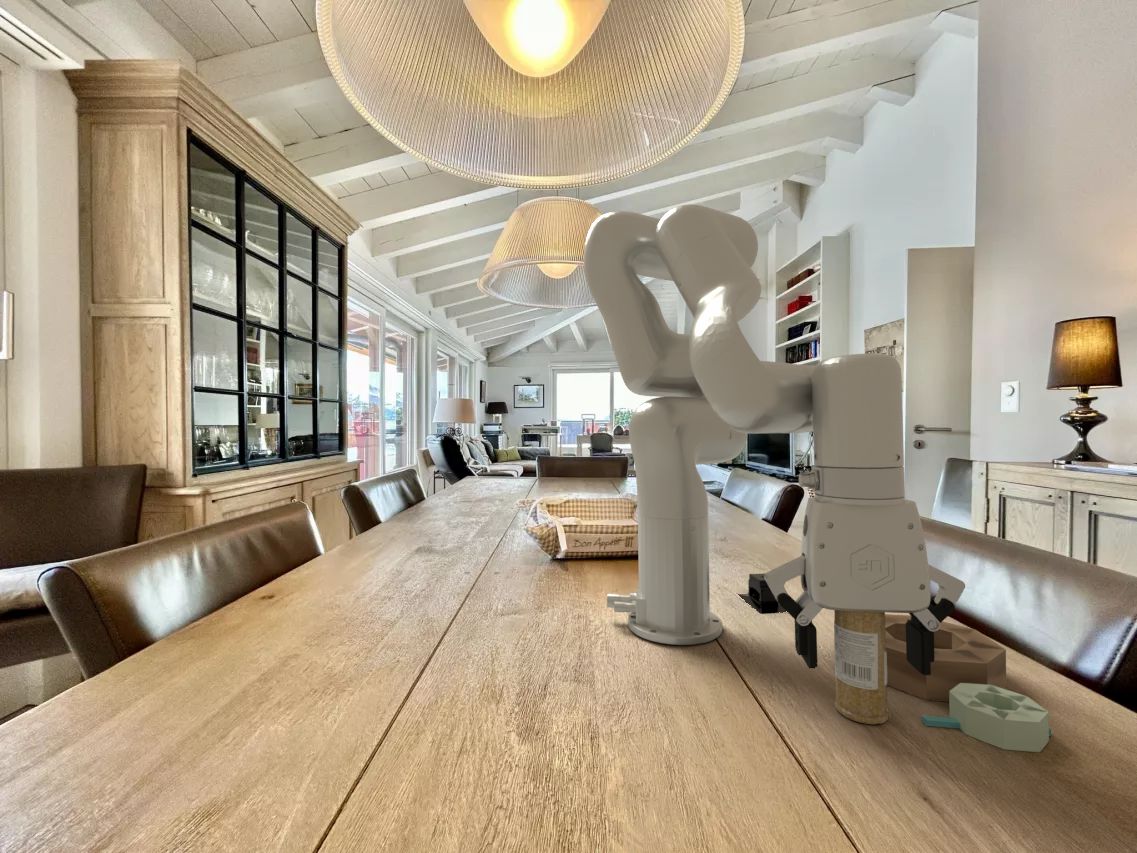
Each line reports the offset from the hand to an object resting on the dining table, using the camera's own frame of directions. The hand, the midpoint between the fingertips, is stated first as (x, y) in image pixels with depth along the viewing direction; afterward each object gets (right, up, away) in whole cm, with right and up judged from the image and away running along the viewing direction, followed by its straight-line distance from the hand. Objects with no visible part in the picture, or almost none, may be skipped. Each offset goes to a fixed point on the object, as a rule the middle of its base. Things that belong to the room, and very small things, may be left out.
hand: (862, 665), depth 50 cm
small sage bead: (+11, -4, -3) cm, 12 cm away
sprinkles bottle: (0, -5, 0) cm, 5 cm away
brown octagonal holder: (+12, -4, +8) cm, 15 cm away
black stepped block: (+2, -5, +32) cm, 32 cm away
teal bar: (+10, -4, -3) cm, 11 cm away
